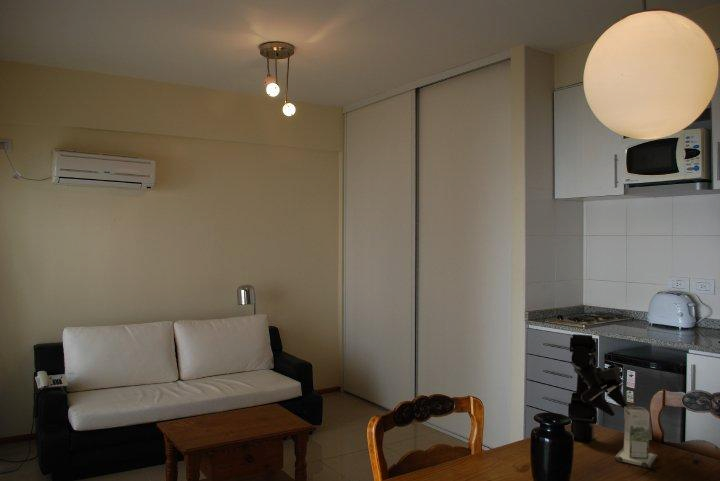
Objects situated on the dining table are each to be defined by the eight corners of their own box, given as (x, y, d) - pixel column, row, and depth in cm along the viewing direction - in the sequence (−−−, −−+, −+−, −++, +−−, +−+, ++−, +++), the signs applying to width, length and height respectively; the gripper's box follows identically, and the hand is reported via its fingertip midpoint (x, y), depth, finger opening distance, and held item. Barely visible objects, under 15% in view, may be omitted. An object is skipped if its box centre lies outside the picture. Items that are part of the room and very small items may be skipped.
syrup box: (642, 452, 184) (642, 406, 184) (649, 459, 178) (649, 411, 178) (623, 451, 185) (623, 405, 185) (629, 458, 179) (630, 411, 179)
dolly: (614, 461, 180) (614, 455, 180) (623, 450, 189) (623, 445, 189) (649, 469, 174) (649, 463, 174) (657, 457, 183) (657, 452, 183)
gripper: (590, 362, 184) (625, 405, 176) (617, 352, 196) (651, 392, 188) (567, 381, 190) (599, 424, 182) (594, 370, 202) (626, 410, 195)
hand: (620, 411), depth 187 cm, fingers open, 9 cm apart
